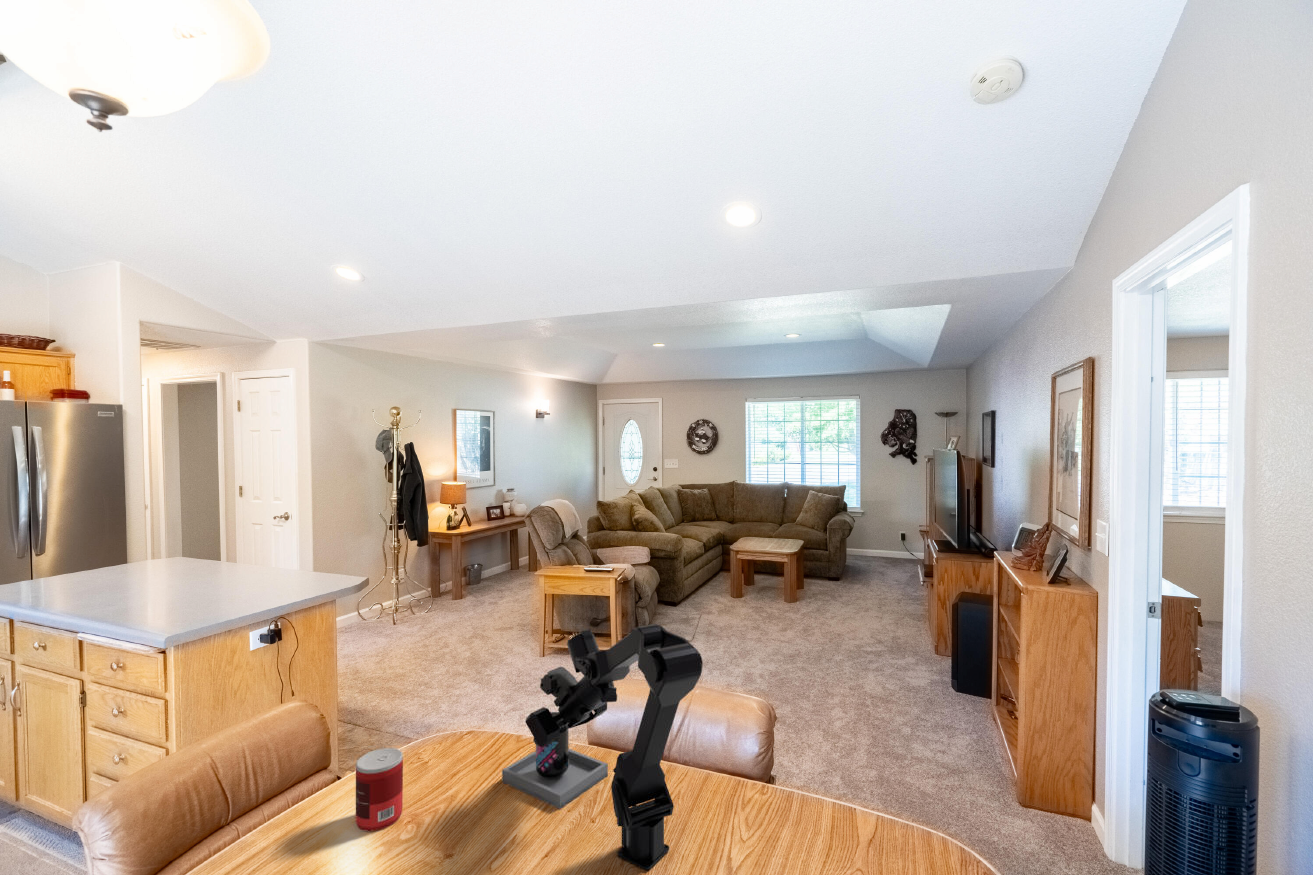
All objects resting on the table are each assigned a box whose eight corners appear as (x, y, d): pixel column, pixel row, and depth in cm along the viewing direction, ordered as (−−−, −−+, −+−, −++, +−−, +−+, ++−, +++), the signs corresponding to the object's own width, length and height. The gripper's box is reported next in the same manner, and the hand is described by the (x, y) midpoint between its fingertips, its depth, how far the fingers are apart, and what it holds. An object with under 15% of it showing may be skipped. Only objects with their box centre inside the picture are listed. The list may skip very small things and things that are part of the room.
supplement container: (532, 765, 127) (532, 715, 127) (564, 759, 130) (564, 709, 130) (539, 781, 121) (539, 728, 121) (572, 774, 124) (572, 722, 124)
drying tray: (607, 775, 126) (607, 763, 126) (560, 809, 115) (560, 795, 115) (551, 753, 135) (551, 741, 135) (502, 781, 124) (502, 769, 124)
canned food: (410, 806, 115) (410, 748, 115) (387, 833, 107) (388, 770, 107) (371, 804, 116) (372, 746, 116) (346, 831, 108) (346, 768, 108)
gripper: (596, 646, 131) (559, 686, 137) (532, 672, 116) (493, 716, 122) (625, 691, 126) (585, 731, 133) (563, 725, 111) (520, 768, 117)
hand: (547, 735), depth 126 cm, fingers closed on supplement container, 7 cm apart
